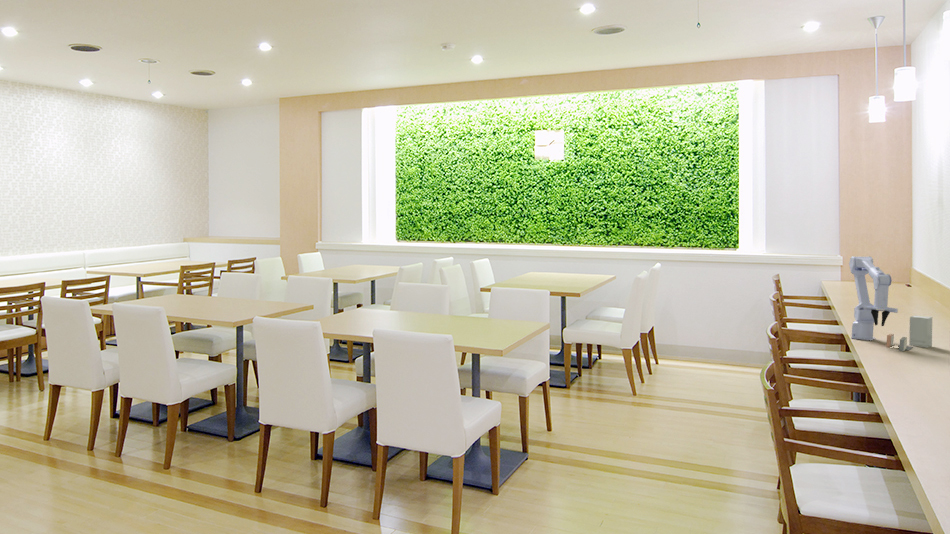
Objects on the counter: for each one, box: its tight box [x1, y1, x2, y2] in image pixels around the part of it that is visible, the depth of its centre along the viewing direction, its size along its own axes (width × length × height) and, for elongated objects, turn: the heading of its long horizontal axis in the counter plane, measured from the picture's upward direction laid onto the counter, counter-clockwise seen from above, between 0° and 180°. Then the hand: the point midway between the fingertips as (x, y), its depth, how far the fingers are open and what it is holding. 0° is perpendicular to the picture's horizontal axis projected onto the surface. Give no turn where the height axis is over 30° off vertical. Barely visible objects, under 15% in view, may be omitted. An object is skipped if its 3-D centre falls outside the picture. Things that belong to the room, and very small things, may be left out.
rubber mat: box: [897, 344, 914, 351], centre depth 328 cm, size 8×10×1 cm
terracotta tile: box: [885, 333, 895, 348], centre depth 331 cm, size 2×6×6 cm, turn 136°
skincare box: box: [908, 315, 933, 349], centre depth 332 cm, size 8×6×15 cm
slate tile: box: [898, 336, 908, 353], centre depth 321 cm, size 2×6×6 cm, turn 136°
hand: (879, 325), depth 334 cm, fingers open, 2 cm apart
